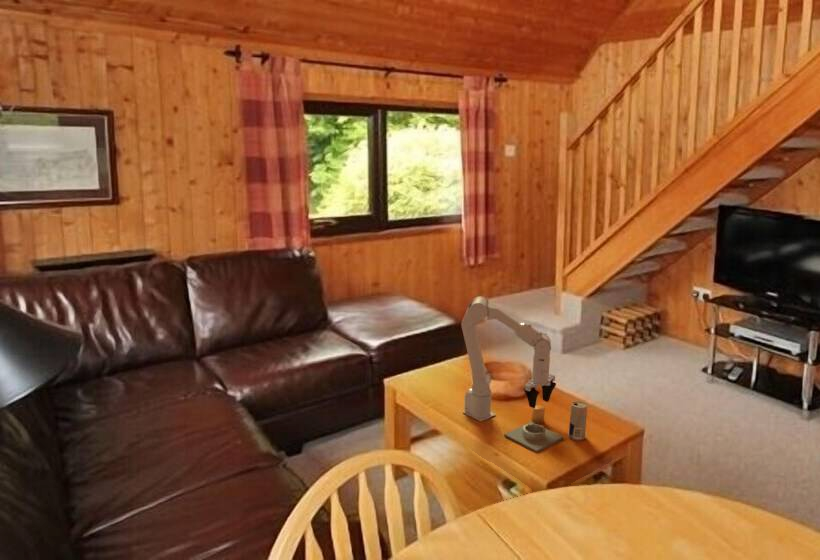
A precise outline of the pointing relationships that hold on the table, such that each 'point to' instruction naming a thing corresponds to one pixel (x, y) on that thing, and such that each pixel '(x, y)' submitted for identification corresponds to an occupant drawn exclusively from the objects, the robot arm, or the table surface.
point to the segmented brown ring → (533, 436)
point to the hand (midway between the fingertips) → (538, 403)
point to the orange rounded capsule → (538, 414)
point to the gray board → (533, 445)
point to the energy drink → (578, 420)
